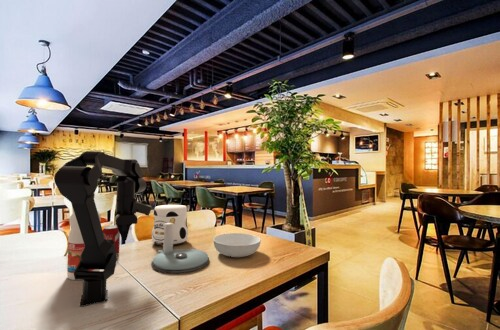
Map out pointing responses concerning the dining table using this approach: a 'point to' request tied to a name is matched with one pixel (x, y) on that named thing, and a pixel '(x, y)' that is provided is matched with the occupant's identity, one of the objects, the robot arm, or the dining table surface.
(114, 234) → the soda can
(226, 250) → the serving bowl
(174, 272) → the pivot base
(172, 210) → the milk container
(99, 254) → the robot arm
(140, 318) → the dining table surface
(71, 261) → the fruit juice
